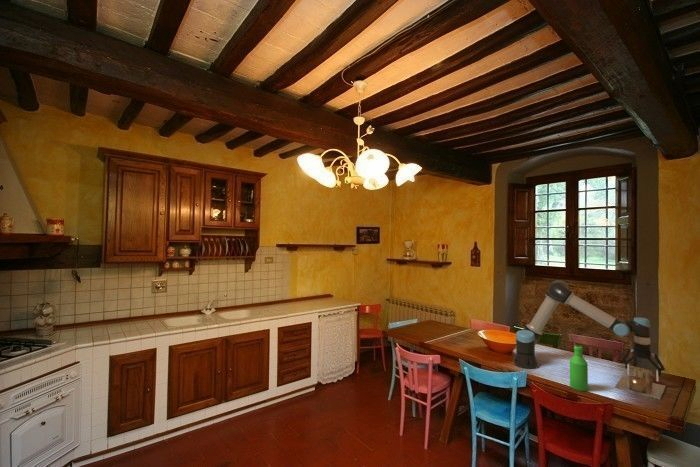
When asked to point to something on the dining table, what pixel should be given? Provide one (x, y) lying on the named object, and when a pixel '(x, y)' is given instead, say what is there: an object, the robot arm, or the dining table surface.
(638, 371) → the planet gear
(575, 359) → the bottle
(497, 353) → the dining table surface
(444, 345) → the dining table surface
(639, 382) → the carrier
